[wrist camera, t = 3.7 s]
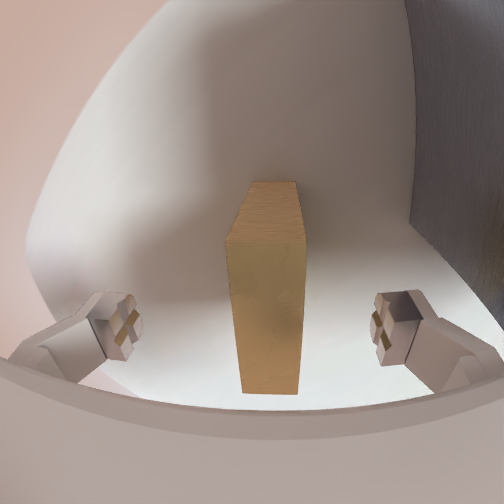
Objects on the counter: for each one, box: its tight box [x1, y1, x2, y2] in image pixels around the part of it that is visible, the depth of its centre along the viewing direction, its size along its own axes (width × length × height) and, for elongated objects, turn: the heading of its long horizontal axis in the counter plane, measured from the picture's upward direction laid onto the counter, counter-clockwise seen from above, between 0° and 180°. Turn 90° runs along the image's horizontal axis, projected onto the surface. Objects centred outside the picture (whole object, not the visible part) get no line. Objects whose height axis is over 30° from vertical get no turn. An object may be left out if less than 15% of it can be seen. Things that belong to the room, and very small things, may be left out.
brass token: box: [225, 181, 307, 395], centre depth 12 cm, size 6×2×7 cm, turn 3°
